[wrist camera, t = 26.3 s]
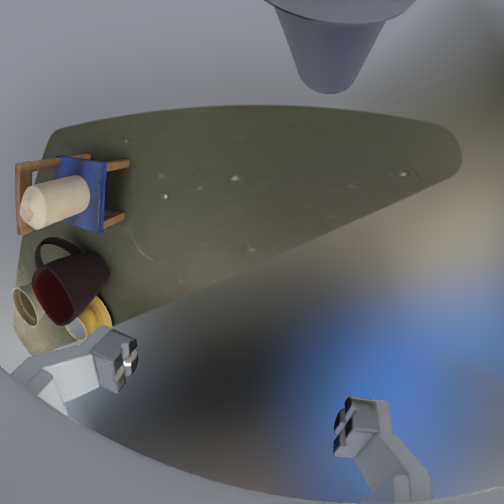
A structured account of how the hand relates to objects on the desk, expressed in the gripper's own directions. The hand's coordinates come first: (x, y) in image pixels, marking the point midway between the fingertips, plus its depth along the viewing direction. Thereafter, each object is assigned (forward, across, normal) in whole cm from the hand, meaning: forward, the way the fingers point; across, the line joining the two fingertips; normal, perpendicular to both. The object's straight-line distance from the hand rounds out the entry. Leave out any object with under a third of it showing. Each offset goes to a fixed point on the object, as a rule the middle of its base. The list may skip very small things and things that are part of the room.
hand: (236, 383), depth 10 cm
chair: (+31, +30, +3) cm, 43 cm away
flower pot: (+32, +48, +29) cm, 64 cm away
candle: (+24, +30, +3) cm, 38 cm away
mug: (+31, +33, +17) cm, 49 cm away
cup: (+31, +34, +29) cm, 55 cm away
